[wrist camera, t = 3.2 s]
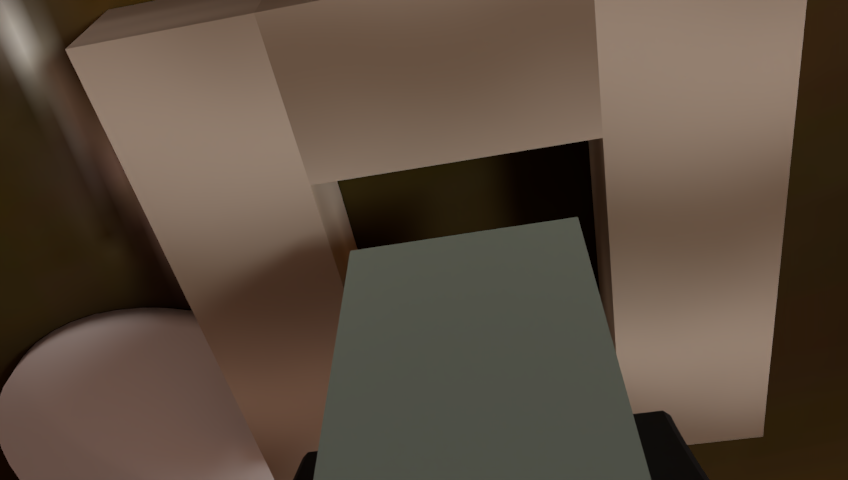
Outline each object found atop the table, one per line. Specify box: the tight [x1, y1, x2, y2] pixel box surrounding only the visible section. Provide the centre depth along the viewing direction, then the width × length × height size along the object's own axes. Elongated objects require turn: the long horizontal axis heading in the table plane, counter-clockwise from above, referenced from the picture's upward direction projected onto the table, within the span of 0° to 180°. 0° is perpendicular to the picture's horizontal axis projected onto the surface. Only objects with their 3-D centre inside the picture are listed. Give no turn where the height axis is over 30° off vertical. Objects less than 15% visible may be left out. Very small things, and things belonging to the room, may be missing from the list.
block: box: [313, 217, 651, 480], centre depth 12 cm, size 4×4×6 cm
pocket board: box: [65, 0, 807, 480], centre depth 16 cm, size 12×12×2 cm
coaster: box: [0, 308, 274, 480], centre depth 21 cm, size 10×10×1 cm
